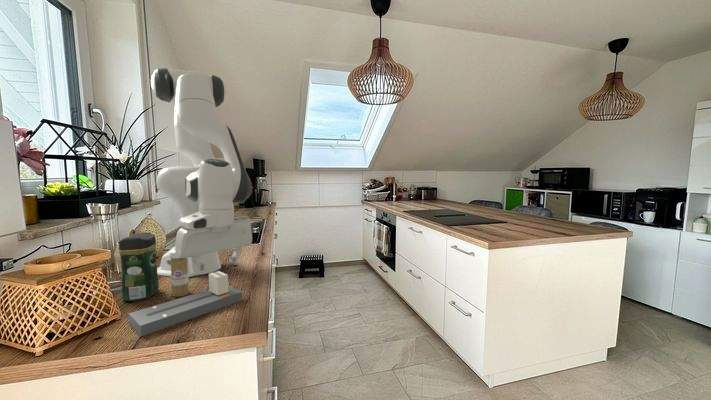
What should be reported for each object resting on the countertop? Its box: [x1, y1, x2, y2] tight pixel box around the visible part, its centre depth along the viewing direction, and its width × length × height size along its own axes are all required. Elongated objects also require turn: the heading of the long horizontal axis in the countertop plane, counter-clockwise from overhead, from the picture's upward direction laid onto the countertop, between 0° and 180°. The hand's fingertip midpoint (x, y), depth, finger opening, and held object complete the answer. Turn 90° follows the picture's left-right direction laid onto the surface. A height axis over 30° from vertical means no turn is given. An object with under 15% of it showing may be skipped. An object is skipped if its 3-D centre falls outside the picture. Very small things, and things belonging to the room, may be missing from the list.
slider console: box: [128, 284, 243, 337], centre depth 75 cm, size 24×9×3 cm, turn 142°
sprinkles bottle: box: [170, 250, 190, 298], centre depth 85 cm, size 5×5×14 cm
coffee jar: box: [118, 232, 160, 302], centre depth 84 cm, size 10×8×19 cm
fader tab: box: [208, 270, 229, 295], centre depth 80 cm, size 3×5×5 cm, turn 52°
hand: (217, 266), depth 81 cm, fingers open, 8 cm apart
